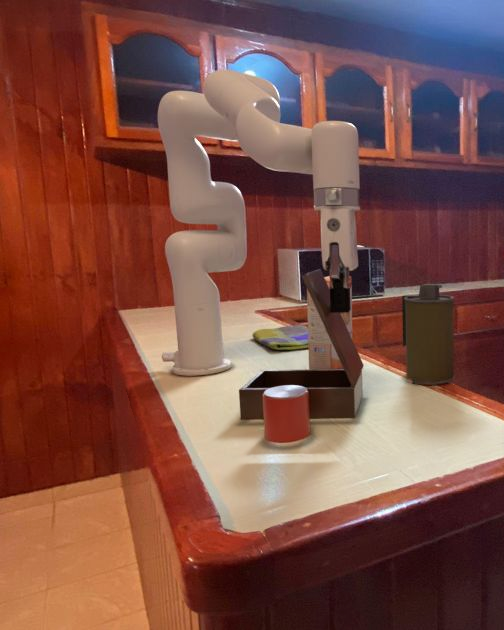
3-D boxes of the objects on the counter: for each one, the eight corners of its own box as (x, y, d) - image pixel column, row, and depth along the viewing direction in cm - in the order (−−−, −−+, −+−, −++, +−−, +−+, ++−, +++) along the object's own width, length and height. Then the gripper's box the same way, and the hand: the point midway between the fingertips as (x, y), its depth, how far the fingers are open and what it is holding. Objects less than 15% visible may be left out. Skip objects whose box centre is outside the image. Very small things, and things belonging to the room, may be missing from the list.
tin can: (259, 448, 76) (256, 398, 75) (271, 431, 83) (269, 385, 81) (305, 447, 76) (303, 397, 75) (314, 430, 83) (312, 384, 82)
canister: (460, 374, 115) (460, 282, 112) (446, 387, 105) (446, 287, 102) (413, 370, 119) (412, 281, 116) (396, 382, 109) (394, 286, 106)
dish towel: (271, 353, 138) (271, 342, 137) (251, 338, 159) (250, 328, 158) (335, 345, 146) (334, 335, 146) (307, 332, 167) (307, 323, 167)
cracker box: (334, 376, 114) (331, 280, 111) (308, 375, 116) (304, 279, 113) (354, 361, 128) (352, 275, 125) (331, 360, 129) (328, 274, 126)
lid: (301, 275, 82) (305, 273, 82) (316, 270, 95) (320, 268, 95) (351, 386, 85) (356, 384, 85) (360, 367, 98) (363, 365, 98)
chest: (240, 424, 86) (238, 389, 85) (263, 400, 98) (261, 369, 98) (355, 422, 86) (354, 388, 85) (362, 399, 98) (362, 368, 98)
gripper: (354, 198, 80) (358, 318, 82) (364, 203, 94) (366, 305, 97) (304, 198, 79) (310, 319, 82) (322, 204, 94) (325, 306, 97)
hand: (340, 311), depth 90 cm, fingers closed
